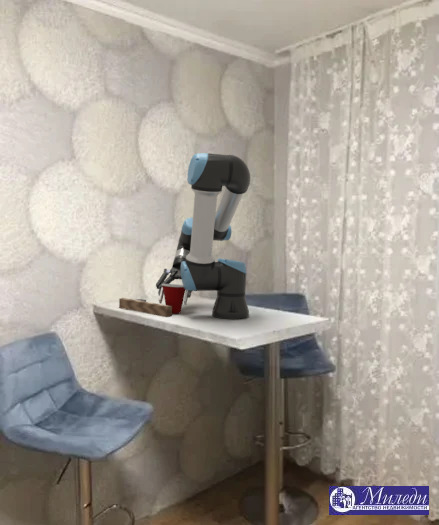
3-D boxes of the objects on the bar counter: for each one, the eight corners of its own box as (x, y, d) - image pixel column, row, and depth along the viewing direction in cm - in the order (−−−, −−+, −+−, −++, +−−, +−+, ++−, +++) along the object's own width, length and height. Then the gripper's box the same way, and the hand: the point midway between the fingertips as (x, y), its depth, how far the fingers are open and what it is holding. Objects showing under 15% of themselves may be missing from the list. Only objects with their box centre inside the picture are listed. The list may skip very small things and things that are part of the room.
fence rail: (185, 313, 197) (185, 303, 197) (166, 317, 188) (166, 306, 188) (138, 305, 215) (138, 295, 215) (119, 307, 207) (119, 298, 206)
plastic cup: (192, 312, 199) (192, 284, 198) (172, 315, 191) (173, 286, 190) (175, 309, 207) (175, 281, 206) (156, 312, 199) (156, 283, 198)
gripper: (208, 268, 211) (200, 309, 197) (159, 266, 215) (147, 306, 200) (206, 257, 206) (198, 298, 191) (156, 255, 209) (144, 295, 195)
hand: (172, 302), depth 196 cm, fingers closed on plastic cup, 10 cm apart
